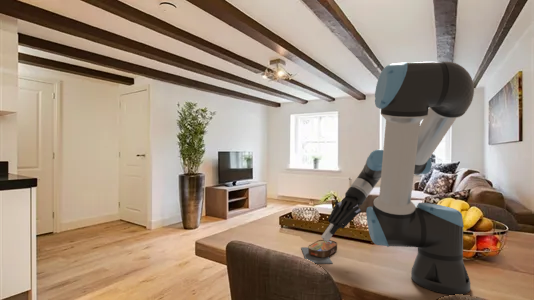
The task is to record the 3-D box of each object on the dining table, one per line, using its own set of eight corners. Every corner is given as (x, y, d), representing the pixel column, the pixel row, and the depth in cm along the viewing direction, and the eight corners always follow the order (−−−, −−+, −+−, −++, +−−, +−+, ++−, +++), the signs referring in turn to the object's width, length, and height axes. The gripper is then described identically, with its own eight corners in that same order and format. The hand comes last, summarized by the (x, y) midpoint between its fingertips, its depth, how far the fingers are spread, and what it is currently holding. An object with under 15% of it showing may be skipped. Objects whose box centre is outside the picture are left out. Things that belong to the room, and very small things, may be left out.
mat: (332, 263, 99) (332, 263, 99) (307, 263, 99) (307, 263, 99) (323, 248, 115) (323, 247, 115) (301, 248, 115) (301, 247, 115)
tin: (324, 252, 101) (304, 246, 106) (323, 261, 101) (303, 254, 106) (340, 242, 113) (321, 236, 118) (340, 249, 113) (321, 244, 118)
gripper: (375, 201, 107) (341, 251, 100) (351, 196, 119) (319, 240, 112) (365, 187, 105) (329, 238, 98) (342, 184, 117) (308, 229, 110)
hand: (324, 239), depth 105 cm, fingers closed
